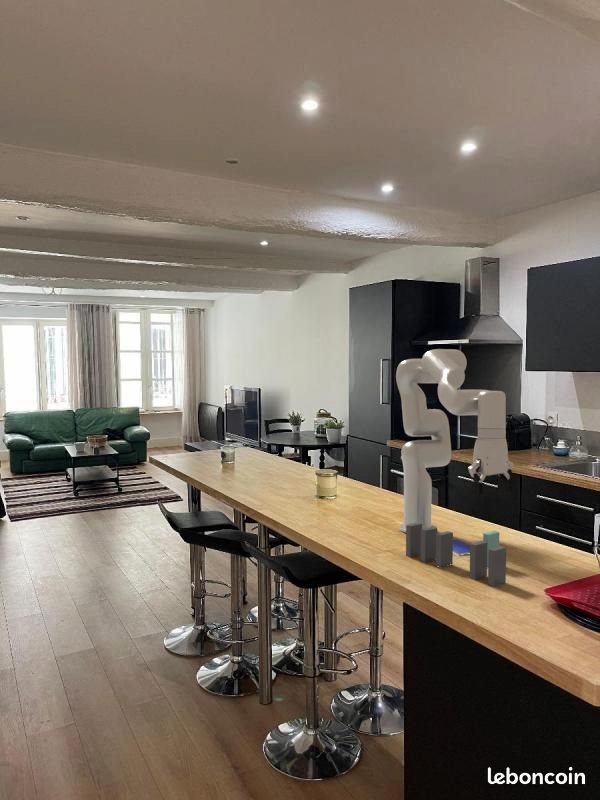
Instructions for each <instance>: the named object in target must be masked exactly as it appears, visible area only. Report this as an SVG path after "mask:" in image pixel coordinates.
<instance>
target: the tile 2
mask: <svg viewBox="0 0 600 800" xmlns="http://www.w3.org/2000/svg"><path fill="white" fill-rule="evenodd" d="M436 534H438V527H436V526H435V527H429V528H425V529H421V555H420V562H422V563H425V562H426V563H429V562H433V561H436V560H435V559H436ZM432 560H433V561H432Z"/></svg>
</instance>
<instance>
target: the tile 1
mask: <svg viewBox="0 0 600 800" xmlns="http://www.w3.org/2000/svg"><path fill="white" fill-rule="evenodd" d="M421 529H422V524H421V523H413V524H409V525H406V533H405V557H407V556H408V558H413V557H417V556H421Z"/></svg>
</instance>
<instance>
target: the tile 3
mask: <svg viewBox="0 0 600 800" xmlns="http://www.w3.org/2000/svg"><path fill="white" fill-rule="evenodd" d="M453 540H454V532H453V531H448V530H446V531H443V532H439V533H438V532H437V534H436V560H435V567H436V566H439V567H443V568H445V567H444V566H447V565H450V564H453V558H454V557H453V554H454V553H453ZM450 566H451V565H450ZM439 567H438V568H439ZM447 567H448V566H447Z"/></svg>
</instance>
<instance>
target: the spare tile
mask: <svg viewBox="0 0 600 800" xmlns="http://www.w3.org/2000/svg"><path fill="white" fill-rule="evenodd" d="M482 541H485V542H487V567H488V552H489V549H491V548H495V547H498V546H500V532H499V531H496V530H493V531H489V532H485V533H483V534H482Z"/></svg>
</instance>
